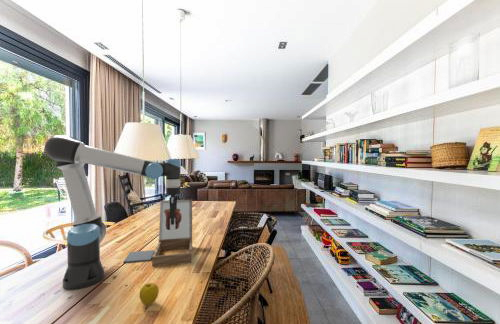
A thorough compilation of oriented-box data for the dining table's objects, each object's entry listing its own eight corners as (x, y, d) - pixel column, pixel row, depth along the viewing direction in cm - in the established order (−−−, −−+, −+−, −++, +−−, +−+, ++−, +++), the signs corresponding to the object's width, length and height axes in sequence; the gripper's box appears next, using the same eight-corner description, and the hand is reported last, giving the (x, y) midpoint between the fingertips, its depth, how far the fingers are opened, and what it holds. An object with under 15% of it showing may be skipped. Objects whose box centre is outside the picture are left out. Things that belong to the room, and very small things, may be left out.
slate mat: (150, 260, 127) (150, 259, 127) (123, 263, 124) (123, 261, 124) (154, 251, 139) (154, 250, 139) (130, 253, 137) (130, 252, 137)
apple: (135, 307, 87) (135, 285, 87) (148, 297, 93) (148, 277, 93) (149, 311, 85) (149, 288, 84) (162, 301, 90) (162, 279, 90)
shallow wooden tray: (191, 262, 124) (191, 251, 124) (152, 266, 120) (152, 255, 120) (192, 246, 147) (192, 237, 147) (159, 249, 143) (158, 239, 143)
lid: (192, 199, 154) (192, 199, 155) (160, 200, 150) (160, 201, 151) (192, 237, 147) (192, 237, 148) (158, 239, 143) (159, 240, 144)
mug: (160, 229, 133) (160, 210, 133) (174, 225, 140) (174, 207, 140) (173, 233, 126) (173, 213, 126) (187, 229, 133) (187, 210, 132)
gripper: (179, 189, 123) (179, 233, 124) (181, 184, 144) (181, 222, 145) (163, 189, 122) (163, 234, 122) (168, 185, 143) (168, 223, 143)
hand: (173, 227), depth 133 cm, fingers closed on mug, 9 cm apart
